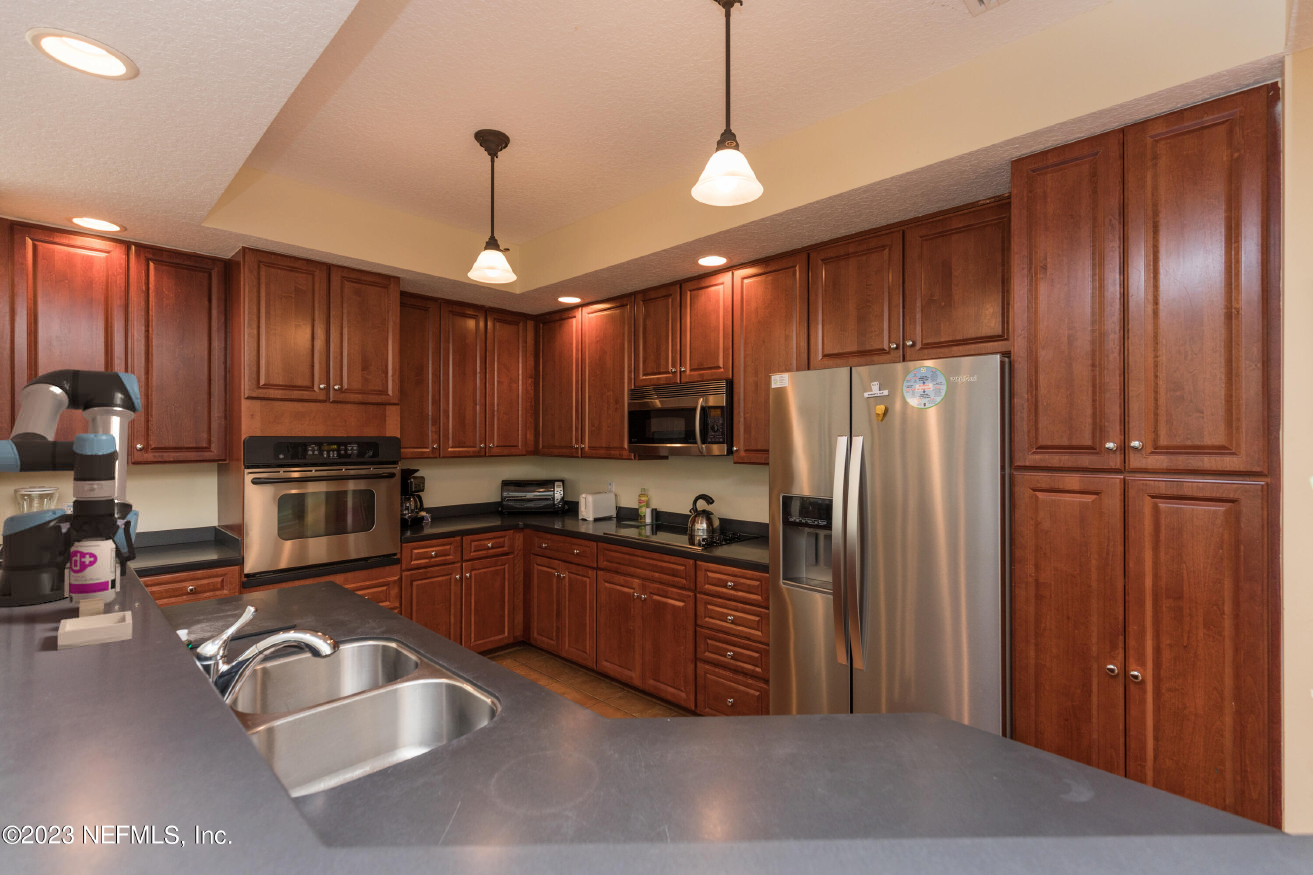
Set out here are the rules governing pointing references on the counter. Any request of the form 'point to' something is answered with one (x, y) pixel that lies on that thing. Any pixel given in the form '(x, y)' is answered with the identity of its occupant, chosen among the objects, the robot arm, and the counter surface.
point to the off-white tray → (94, 630)
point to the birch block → (91, 607)
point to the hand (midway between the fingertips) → (92, 592)
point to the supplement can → (92, 570)
